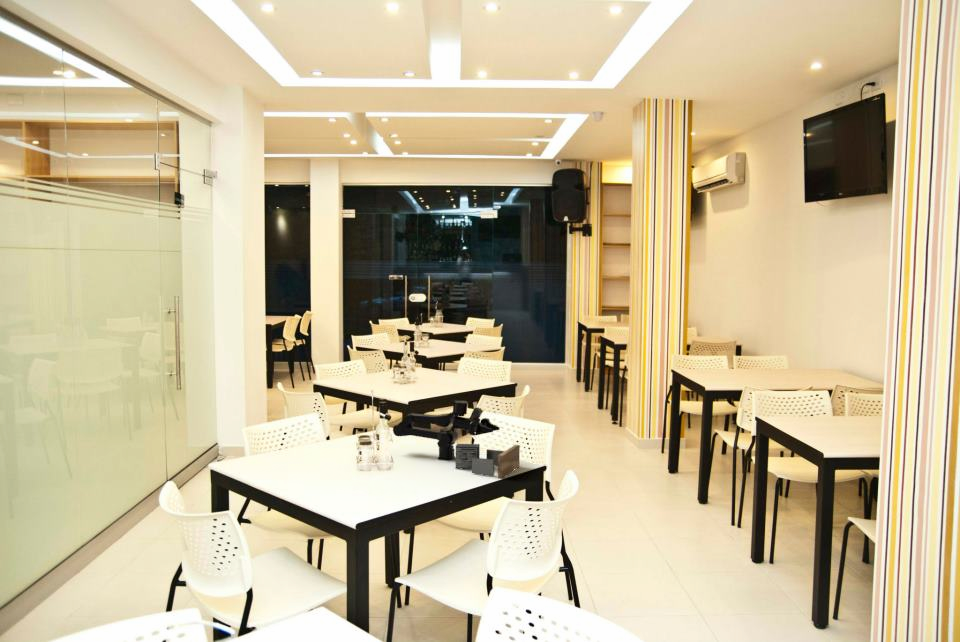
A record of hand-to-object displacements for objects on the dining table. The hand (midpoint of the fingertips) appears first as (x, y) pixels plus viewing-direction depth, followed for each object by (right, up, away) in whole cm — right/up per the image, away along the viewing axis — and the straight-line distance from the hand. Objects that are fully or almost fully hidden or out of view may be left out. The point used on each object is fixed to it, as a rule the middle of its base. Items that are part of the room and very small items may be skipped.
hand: (496, 429), depth 323 cm
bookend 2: (0, -16, -3) cm, 16 cm away
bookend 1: (-6, -17, -18) cm, 26 cm away
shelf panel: (+5, -17, -14) cm, 23 cm away
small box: (-13, -16, -6) cm, 22 cm away
